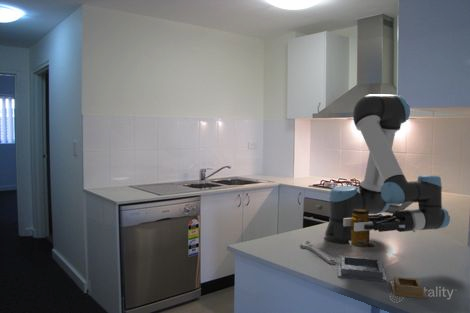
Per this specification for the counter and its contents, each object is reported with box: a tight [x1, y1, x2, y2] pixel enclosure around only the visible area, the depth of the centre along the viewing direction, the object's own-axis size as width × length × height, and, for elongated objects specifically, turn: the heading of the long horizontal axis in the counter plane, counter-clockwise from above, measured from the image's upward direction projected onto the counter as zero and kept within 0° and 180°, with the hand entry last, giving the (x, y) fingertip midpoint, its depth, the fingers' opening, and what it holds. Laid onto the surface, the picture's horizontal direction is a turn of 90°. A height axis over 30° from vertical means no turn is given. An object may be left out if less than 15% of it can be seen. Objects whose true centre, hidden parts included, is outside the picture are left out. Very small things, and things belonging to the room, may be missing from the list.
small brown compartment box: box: [389, 276, 428, 300], centre depth 115 cm, size 9×9×3 cm
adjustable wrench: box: [300, 240, 337, 265], centre depth 149 cm, size 25×6×2 cm, turn 10°
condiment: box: [349, 209, 378, 249], centre depth 128 cm, size 7×8×12 cm
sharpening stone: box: [385, 203, 413, 213], centre depth 227 cm, size 25×8×11 cm, turn 45°
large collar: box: [337, 255, 388, 283], centre depth 130 cm, size 15×15×3 cm
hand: (349, 224), depth 128 cm, fingers closed on condiment, 6 cm apart
